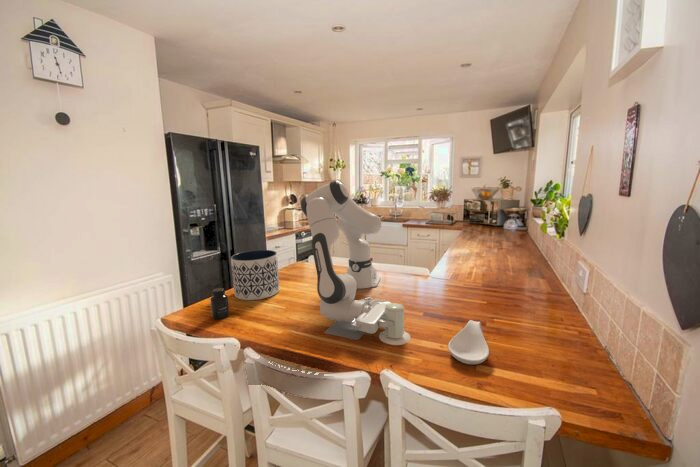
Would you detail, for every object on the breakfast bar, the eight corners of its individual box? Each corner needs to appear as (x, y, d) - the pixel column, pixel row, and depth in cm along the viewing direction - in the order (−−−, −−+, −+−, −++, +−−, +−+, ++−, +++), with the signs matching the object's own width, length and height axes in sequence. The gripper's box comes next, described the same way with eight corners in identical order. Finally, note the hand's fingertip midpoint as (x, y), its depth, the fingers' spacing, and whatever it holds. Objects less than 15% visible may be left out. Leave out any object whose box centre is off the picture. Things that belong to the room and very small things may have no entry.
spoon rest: (486, 375, 87) (487, 351, 85) (444, 364, 92) (444, 342, 91) (492, 336, 107) (493, 317, 106) (457, 330, 113) (458, 311, 111)
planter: (262, 303, 143) (258, 261, 140) (224, 298, 151) (220, 258, 148) (287, 287, 164) (285, 250, 161) (253, 284, 172) (250, 248, 168)
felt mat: (340, 318, 125) (340, 317, 125) (372, 324, 119) (372, 322, 119) (323, 334, 112) (323, 332, 112) (358, 341, 106) (358, 340, 106)
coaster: (385, 328, 115) (385, 327, 115) (413, 333, 110) (413, 332, 110) (374, 342, 105) (374, 341, 105) (405, 349, 101) (405, 347, 100)
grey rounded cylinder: (389, 328, 112) (388, 302, 110) (405, 331, 109) (405, 304, 107) (383, 335, 106) (383, 308, 104) (400, 339, 103) (400, 311, 102)
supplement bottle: (223, 320, 126) (220, 293, 124) (208, 319, 128) (205, 292, 126) (232, 313, 133) (230, 287, 131) (218, 312, 134) (215, 286, 132)
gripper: (348, 316, 102) (387, 323, 96) (370, 295, 120) (404, 300, 115) (348, 334, 103) (387, 342, 97) (370, 310, 122) (404, 316, 116)
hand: (397, 319), depth 106 cm, fingers closed on grey rounded cylinder, 6 cm apart
